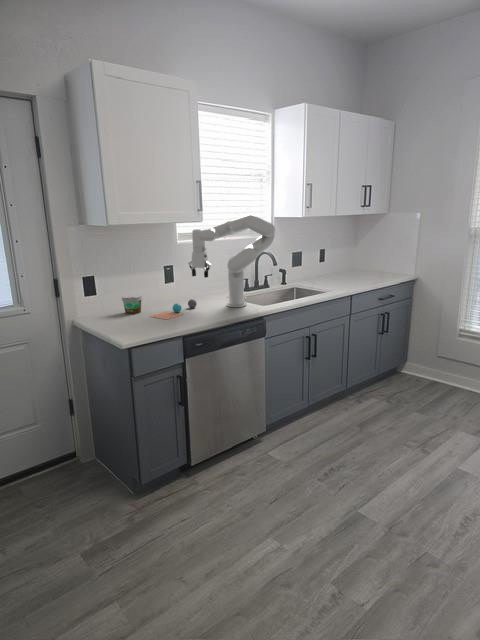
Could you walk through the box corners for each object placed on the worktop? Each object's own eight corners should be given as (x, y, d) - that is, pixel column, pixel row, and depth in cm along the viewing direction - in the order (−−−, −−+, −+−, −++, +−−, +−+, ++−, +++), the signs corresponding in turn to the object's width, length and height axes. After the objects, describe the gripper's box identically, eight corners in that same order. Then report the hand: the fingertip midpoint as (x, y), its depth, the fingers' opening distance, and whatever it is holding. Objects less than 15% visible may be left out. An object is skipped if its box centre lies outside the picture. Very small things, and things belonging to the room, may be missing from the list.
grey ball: (192, 306, 276) (191, 298, 275) (198, 307, 273) (198, 299, 272) (186, 308, 272) (185, 299, 270) (192, 309, 269) (192, 300, 267)
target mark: (166, 311, 264) (166, 311, 264) (183, 314, 256) (183, 314, 256) (149, 316, 253) (149, 316, 252) (167, 319, 245) (167, 319, 245)
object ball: (177, 311, 265) (176, 302, 264) (183, 312, 262) (183, 303, 261) (170, 312, 261) (170, 303, 259) (177, 313, 258) (177, 305, 256)
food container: (120, 315, 258) (119, 298, 255) (123, 312, 264) (121, 296, 261) (141, 314, 258) (140, 298, 256) (143, 312, 264) (142, 296, 261)
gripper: (213, 249, 267) (214, 276, 272) (191, 248, 276) (193, 274, 281) (206, 250, 261) (207, 278, 265) (184, 249, 270) (185, 276, 274)
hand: (200, 276), depth 273 cm, fingers open, 9 cm apart
